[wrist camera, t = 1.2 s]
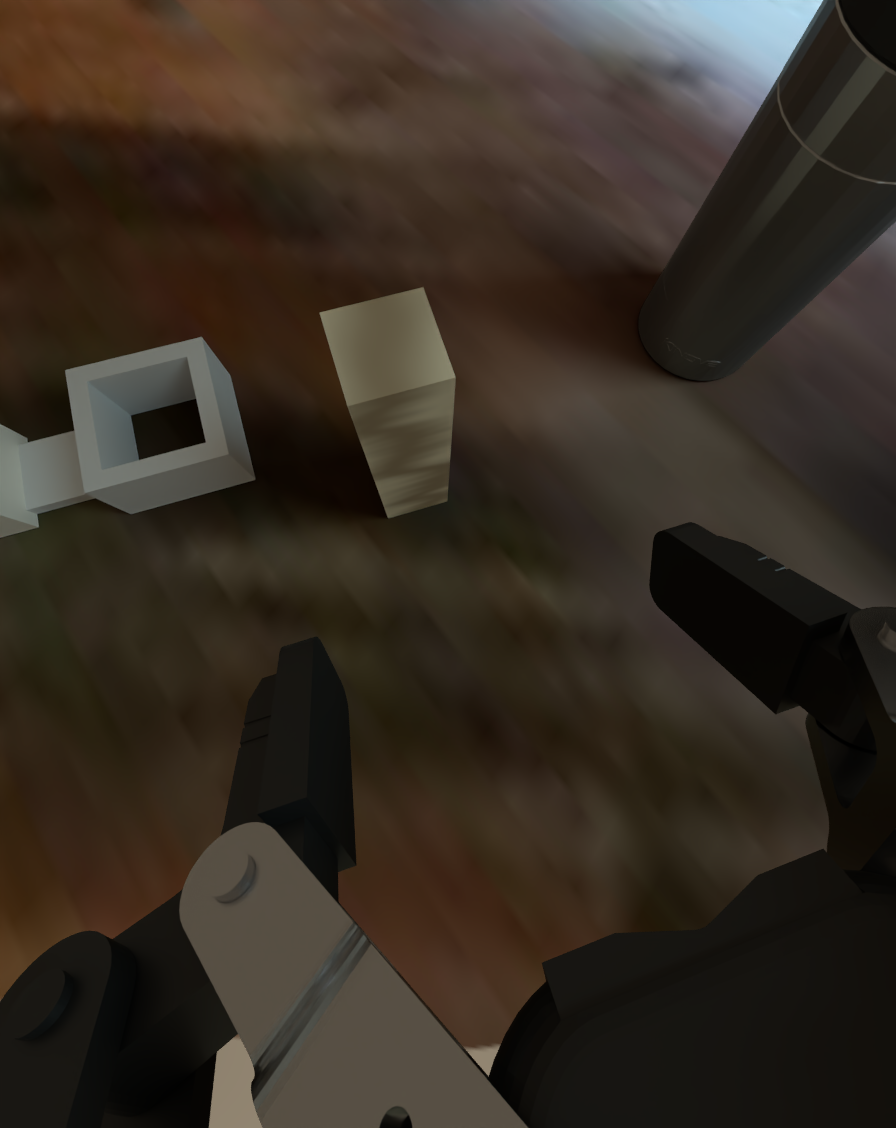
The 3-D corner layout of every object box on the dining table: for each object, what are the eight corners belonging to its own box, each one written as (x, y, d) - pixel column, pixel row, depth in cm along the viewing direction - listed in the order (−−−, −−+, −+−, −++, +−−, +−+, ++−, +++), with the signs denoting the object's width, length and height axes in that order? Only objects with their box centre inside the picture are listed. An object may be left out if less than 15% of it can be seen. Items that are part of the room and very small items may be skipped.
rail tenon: (429, 447, 31) (423, 286, 18) (447, 501, 30) (455, 377, 17) (371, 463, 31) (319, 312, 17) (388, 518, 30) (347, 406, 16)
